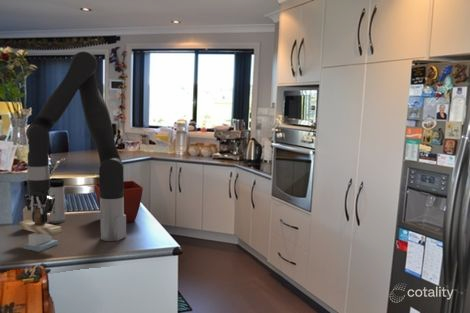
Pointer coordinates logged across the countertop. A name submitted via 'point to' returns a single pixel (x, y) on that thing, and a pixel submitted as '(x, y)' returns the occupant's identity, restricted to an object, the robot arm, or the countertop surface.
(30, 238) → the fulcrum block
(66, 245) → the countertop surface
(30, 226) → the maple bar
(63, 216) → the travel mug
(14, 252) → the countertop surface
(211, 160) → the countertop surface
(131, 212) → the plant pot
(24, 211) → the candle
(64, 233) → the countertop surface
